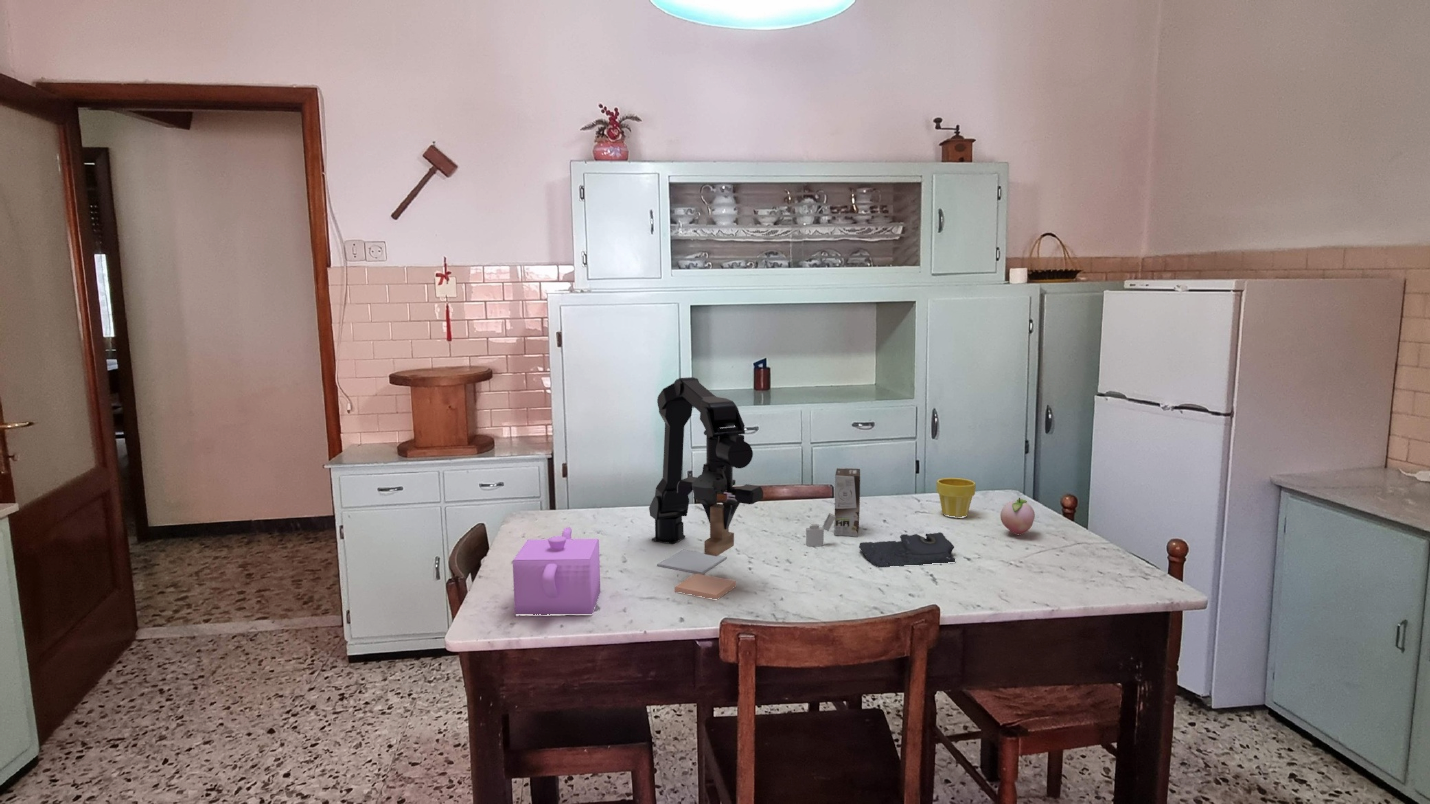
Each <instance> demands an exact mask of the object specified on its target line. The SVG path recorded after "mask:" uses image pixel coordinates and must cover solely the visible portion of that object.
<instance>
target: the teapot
mask: <svg viewBox="0 0 1430 804" xmlns="http://www.w3.org/2000/svg"><path fill="white" fill-rule="evenodd" d="M572 531H573V530H572V527H568V526H567V527H565V528H564V529H563V530H562V533H561V535H555V536H551V537H549V538H545V539H542V538H541V539H539V538H538V539H537V538H536V539H534V538H533V539H526V541H525V542H524V544H523V545H522V547H521V548H520V550H519V551H518V553H517V554H516V555H515V557H514V558H513V560H512V575H513V576H512V578H513V599H514V600H513V601H514V615H515V614H533V615H535V614H536V615H537V614H538V615H539V614H541V615H547V614H549V615H550V614H592V613H593V614H594V612H593V610H594V611H595V609H594V607H595V608H596V606H597V603H598V600H599V597H598V596H600V593H601V570H600V569H601V567H600V566H601V564H600V563H601V561H600V558H601V557H600V539H599V538H572ZM597 599H598V600H597ZM596 602H597V603H596ZM595 605H596V606H595Z"/></svg>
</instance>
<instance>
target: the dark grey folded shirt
mask: <svg viewBox="0 0 1430 804" xmlns="http://www.w3.org/2000/svg"><path fill="white" fill-rule="evenodd" d="M899 538H900V540H899V541H897V540H887V541H877V542H876V541H874V542H872V541H869V542H867V541H865V542H863V541H861V542H860V543H859V545H858V546H859V547H858V548H859V549H860V551H861V553H863V555H865V558H866V559H867V560H868V561H869V562H870V563H871V565H873V566H874V567H878V568H891V567H890V566H899V567H905V566H904V565H919V566H924V565H923V564H932V563H948V562H955V559H956V558H955V557H954V556H952V552H953V550H954V549H955V546H954V544H953V543H952V541H950V540H949V539H947V538H946V536H945V535H944V533H943V532H941V531H940V532H933V533H925V537H924V536H921V535H919V534H917V533H914V534H911V535H908V533H907V534H906V533H905V534H903V533H902V534H901V535H899ZM953 557H954V558H953ZM955 563H956V562H955Z"/></svg>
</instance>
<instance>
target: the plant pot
mask: <svg viewBox="0 0 1430 804" xmlns="http://www.w3.org/2000/svg"><path fill="white" fill-rule="evenodd" d="M936 493H937V494H938V496H939V501H940V507H941V512H942V515H943V514H945V515H949V516H955V517H962V516H966V515H967V516H968V514H969V510H970V507H971V503H972V499H973V496H975V495H976V481H975V482H974V481H973V480H971V479H967V478H959V477H958V478H957V477H945V478H939V479H937V481H936Z"/></svg>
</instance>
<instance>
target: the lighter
mask: <svg viewBox="0 0 1430 804" xmlns="http://www.w3.org/2000/svg"><path fill="white" fill-rule="evenodd" d="M834 522H835V514H833V513H831V512H829V513H828V515H827V516H826V519H825V521H824V523H823V525H822V527H821V526H820V525H819V524H818V523H816V524H815V523H813V524H811V525H809V527H806V529H805V545H806V547H824V540H825V539H824V537H825V536H824V531H827V532H829V531H830V529H831V527H832V525H833V523H834Z"/></svg>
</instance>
